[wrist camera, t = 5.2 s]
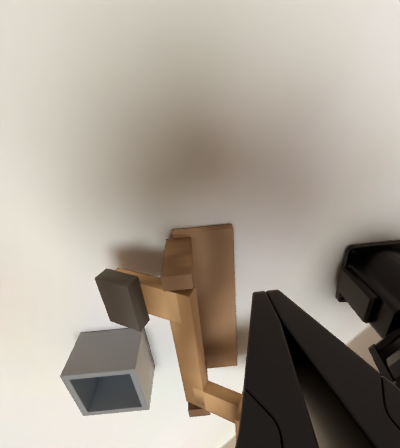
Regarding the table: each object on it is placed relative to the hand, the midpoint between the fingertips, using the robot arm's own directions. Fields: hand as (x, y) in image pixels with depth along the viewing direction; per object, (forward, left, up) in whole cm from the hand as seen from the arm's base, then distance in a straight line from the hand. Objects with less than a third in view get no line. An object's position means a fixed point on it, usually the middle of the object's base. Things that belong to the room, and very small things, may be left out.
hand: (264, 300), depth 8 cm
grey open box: (+12, +18, -12) cm, 25 cm away
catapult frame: (+2, +12, -12) cm, 17 cm away
